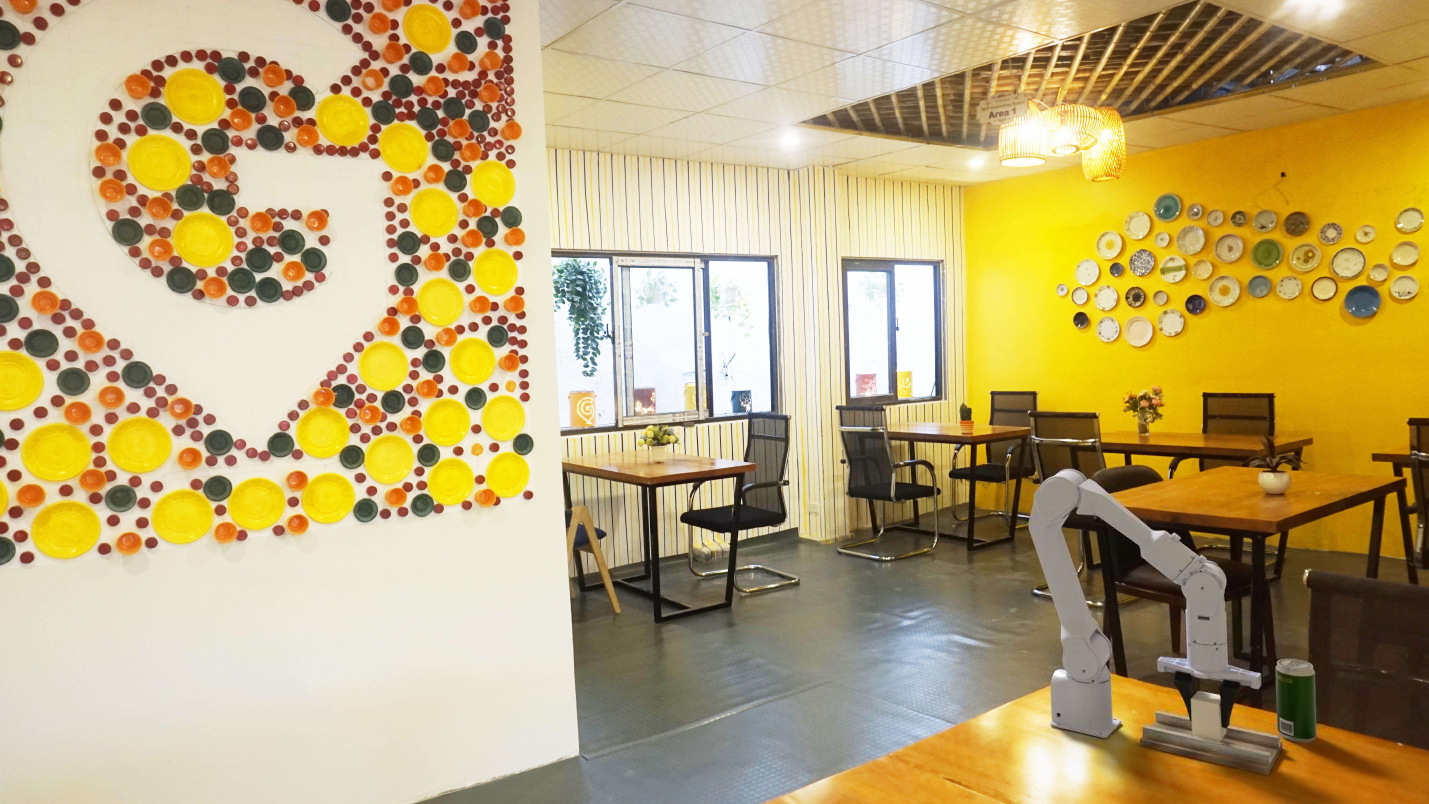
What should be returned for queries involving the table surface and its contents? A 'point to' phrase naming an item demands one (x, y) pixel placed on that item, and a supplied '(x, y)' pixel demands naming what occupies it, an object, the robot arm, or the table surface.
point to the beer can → (1296, 700)
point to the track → (1213, 744)
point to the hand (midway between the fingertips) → (1209, 722)
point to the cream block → (1207, 716)
